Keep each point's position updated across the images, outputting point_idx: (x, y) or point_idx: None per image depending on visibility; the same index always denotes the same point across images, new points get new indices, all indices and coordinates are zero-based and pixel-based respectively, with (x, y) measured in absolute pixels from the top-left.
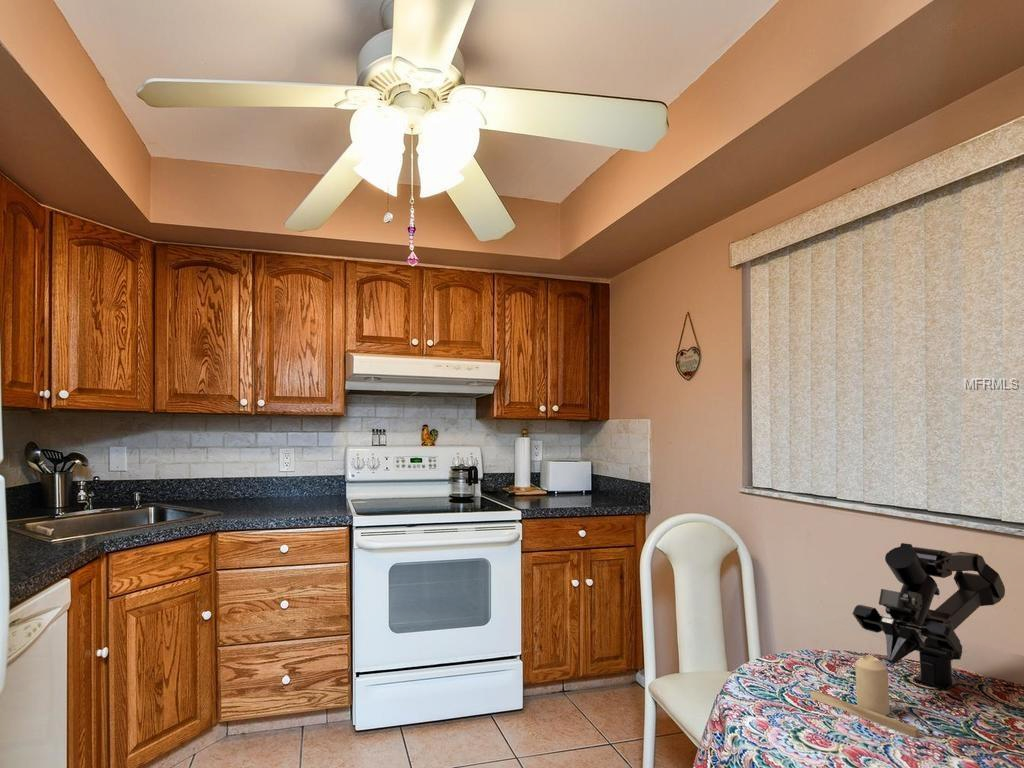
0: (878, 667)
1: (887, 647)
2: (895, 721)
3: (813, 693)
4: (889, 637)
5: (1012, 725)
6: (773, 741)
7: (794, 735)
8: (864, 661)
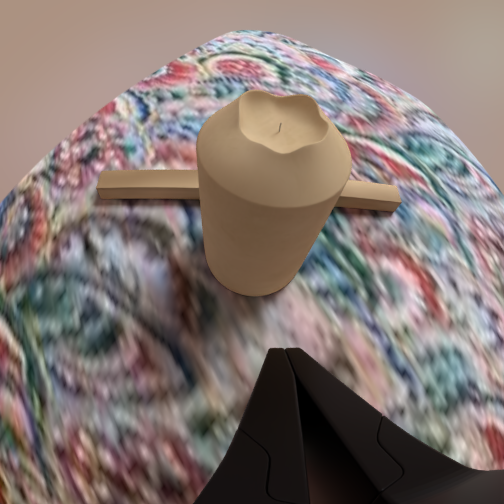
0: (219, 111)
1: (354, 398)
2: (153, 179)
3: (387, 185)
4: (405, 462)
5: None
6: (275, 43)
7: (272, 61)
8: (286, 97)
